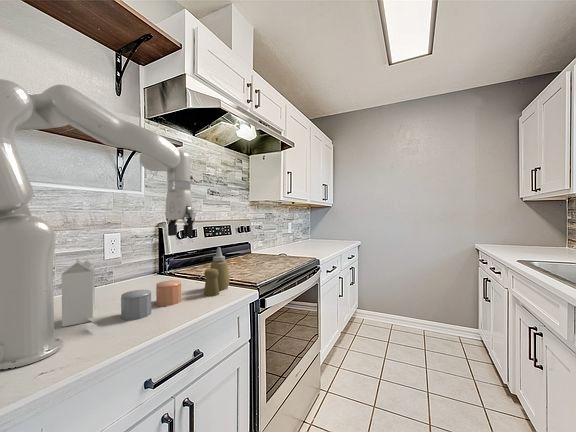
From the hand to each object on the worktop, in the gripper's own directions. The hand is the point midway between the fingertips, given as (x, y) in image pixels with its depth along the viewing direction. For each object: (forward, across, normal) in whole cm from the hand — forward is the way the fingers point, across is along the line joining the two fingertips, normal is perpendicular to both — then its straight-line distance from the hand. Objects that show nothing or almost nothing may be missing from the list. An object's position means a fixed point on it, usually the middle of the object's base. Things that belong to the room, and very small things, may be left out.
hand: (180, 236), depth 94 cm
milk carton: (+24, -12, -26) cm, 37 cm away
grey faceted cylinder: (+24, +2, -16) cm, 29 cm away
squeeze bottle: (+24, 0, +17) cm, 30 cm away
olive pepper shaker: (+24, +4, +10) cm, 27 cm away
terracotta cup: (+24, -1, -4) cm, 24 cm away
